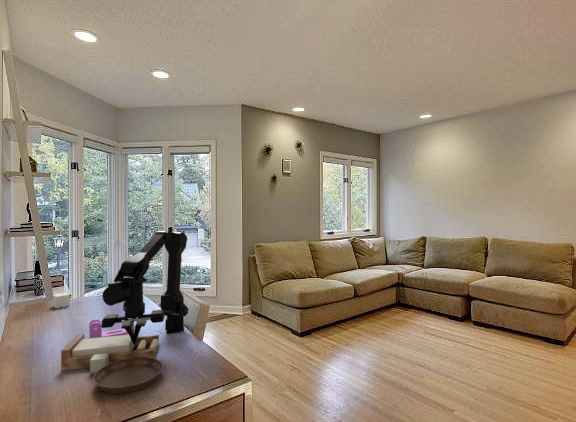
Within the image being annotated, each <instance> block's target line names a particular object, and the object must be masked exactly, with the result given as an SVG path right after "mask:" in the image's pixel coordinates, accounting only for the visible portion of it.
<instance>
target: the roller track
mask: <svg viewBox="0 0 576 422" xmlns="http://www.w3.org/2000/svg"><path fill="white" fill-rule="evenodd" d="M82 339H85V333H78V334H76V336H74V337H73V338H72V339H71V340H70V342H68V343H67V344H66V345H65V346H64V347H63V348H62V349H61V350H60V351H61V352H60V353H61V354H60V367H61V368H60V370H61V371H70V370H79V369H87V368H89V369H90V360H91V359H92V357H93V356H94V355H92V356H83V357H73V358H72V350H73V349H74V348H75V347H76V346H77V345H78V343H79V342H80V341H81V340H82ZM159 340H160V336H159V334H153V335H152V334H151V335H141V336H138V338H137V342H136V344H132V346H131V349H130V351H129V352H121V353H112V354H109V364H111V363H113V362H116V361H120V360H124V359H129V358H137V357H147V358H153V359H155V356H156V353H157V350H158V346H159V343H160V341H159ZM146 347H149V349H146ZM134 348H136V350H134V351H133V349H134Z"/></svg>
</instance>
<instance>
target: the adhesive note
mask: <svg viewBox="0 0 576 422" xmlns="http://www.w3.org/2000/svg"><path fill="white" fill-rule="evenodd" d="M70 299H71V294H70V293H68V292H64V293H57V294H53V295H52V307H53V308H54V307H55V308H54V309H56V308H57V309H61V308H60V307H62V308H67V307H66V306H68V307H70V306H71V303H70V302H71V300H70Z"/></svg>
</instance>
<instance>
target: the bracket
mask: <svg viewBox="0 0 576 422" xmlns="http://www.w3.org/2000/svg"><path fill="white" fill-rule="evenodd" d="M101 322H102V321H101V320H100V319H99V318H93V319H92V320H90V321H89V324H88V326H89V330H88V331H89V334H88V335H89V337H88V339H89V338H100V337H110V336H120V335H129V334H128V333H127V331H126V330H125V329H122V328H119V329H113V330H108V331H102V329H103V328H102V326H101Z"/></svg>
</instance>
